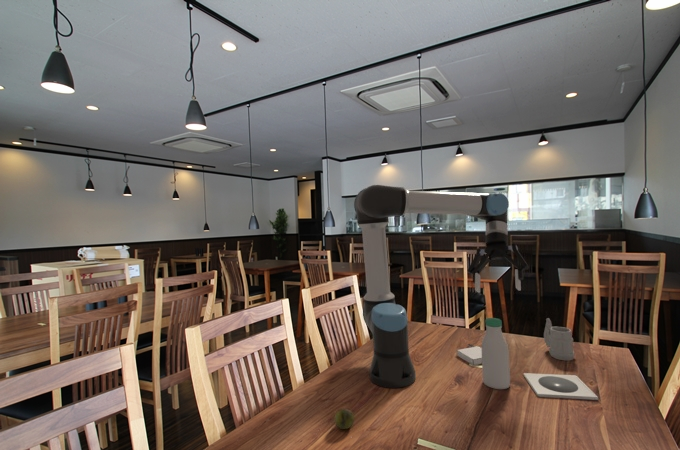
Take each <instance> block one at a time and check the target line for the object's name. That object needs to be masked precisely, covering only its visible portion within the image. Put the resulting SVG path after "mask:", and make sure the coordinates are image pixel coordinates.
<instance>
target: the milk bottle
mask: <svg viewBox="0 0 680 450" xmlns="http://www.w3.org/2000/svg"><path fill="white" fill-rule="evenodd" d="M484 323H485V327H486V330H485V334H484V336H483V338H482V341H481V348H482V364H481V365H482V366H481V371H482V382H483V384H484V385H485V386H487V387H489V388H491V389H495V390H506V389H509V387H510V386H511V371H510V370H511V369H510V367H511V366H510V352H509V346H508V341H506V340H507V339H506V338H505V337H504V334H503V331H502V326H503V324H502V323H503V322H502V320H501V319H500V318H496V317H487V318H485V321H484Z"/></svg>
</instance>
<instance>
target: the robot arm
mask: <svg viewBox="0 0 680 450" xmlns="http://www.w3.org/2000/svg"><path fill="white" fill-rule="evenodd" d="M353 208H354V211H355V213H356V220H357V221H356V223H357V226H358V227H359V228H360V229H361V231H362V232H361V233H362V245H363V256H364V257H363V258H364V260H363V261H364V271H365V272H364V273H365V282H366V293H365V295H364V296H363V308H362V318H363V321H364V323H365V325H366V326H367V327H368V329H369V330H370V332H371V333H372V342H373V343H372V345H373V346H372V347H373V356H372V360H371V364H370V366H369V367H370V368H369V380H370V379H371V380H370V381H371V382H372V383H373V384H375V385H377V386H379V387H382V388H388V389H399V388H404V387H408V386H410V385H412V384H413V383H414V382H415V381H416V378H417V377H416V370H415V366H414V364H413V361H412V358H411V356H410V350H409V345H410V344H409V329H408V321H409V320H408V317H409V316H408V314H407V310H406V308H405V307H403V306H402V305H400V304H396V299H395V294H394V293H393V292H391V287H390V275H389V274H390V272H389V260H388V247H387V235H386V227H387V225H388V224H389V222H390V221H389V217H403V216H404V215H405V214H422V215H423V214H426V215H427V214H429V215H430V214H431V215H460V216H461V215H464V216H470V217H473V218H476V219H480V220H483V221H485V248H484V249H483V248H482V249H480V248H477V249H476V253H475V255H474V257H473V259H472V261H471V263H470V265H469V267H468V269H467V272H468V273H469V274H470V275H472V282H473V283H474V291H475V292H477V293H478V294H479V293H481V275H480V273H481V272H482V271H483V270H484V269H485V267H487V265H488V263H491V262H492V260H493V261H496V260H503V259H506V260H507V261H508V262H509V263H510V264H511V265H513V266H514V268H515V269H514V280H515V289H516V290H517V291H521V290H522V286H521V284H522V283H521V281H523V280H524V271H526V270H529V269H530V266H529V265H528V263H527V262H526V260H525V259H524V257H523V256H522V254H521V253H520V251H519V247H518V246H517V244H515V243H512V244H511V245H509V236H508V234H509V233H508V231H509V229H508V226H509V225H508V209H509V199H508V196H507V195H505V194H503V193H501V192H492V193H485V192H484V193H482V192H479V193H477V192H457V191H456V192H455V191H454V192H453V191H452V192H451V191H431V190H430V191H429V190H428V191H427V190H408V189H406V188H405V187H404V186H401V187H399V186H389V185H382V184H372V185H370V186H367V187H365V188H363V189H361V190H360V191H359V192H358V193H357V194H356V196H355V198H354V203H353ZM510 250H511V252H512V253H514V254H515V256H516V257H517V259H518V261H519V262H520V264H521V265H520V264H519V263H518V262H516V261H515V260H514V259H513V258H512V257H511V256H510V255H508V253H509V252H510Z"/></svg>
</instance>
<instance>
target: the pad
mask: <svg viewBox="0 0 680 450" xmlns="http://www.w3.org/2000/svg"><path fill="white" fill-rule="evenodd" d="M523 376H524V377H523V378H525V380H526V381H527V383H528V384H529V386H530V387H531V390H533V392H534V393H535V395H536V396H537V397H539V398H554V399H574V400H593V401H598V400H599V397H598V396H597V394H595V392H594V391H592V389H590V388H589V387H588V386H587V385H586V384H585V382H583V381H582V380H581V379H580V378H579V376H577V375H573V374H553V373H533V372H532V373H527V372H524V373H523Z"/></svg>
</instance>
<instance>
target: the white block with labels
mask: <svg viewBox="0 0 680 450" xmlns="http://www.w3.org/2000/svg"><path fill="white" fill-rule="evenodd" d="M467 346H469V347H466V348H460V349H456V356H457V357H459V358H461V359H462V360H464V361H466V362H467V363H469V364H471V365H472V366H477V365H482V346H481V347H480V345H477V346H476V345H472V344H471V343H469V344H467Z"/></svg>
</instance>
